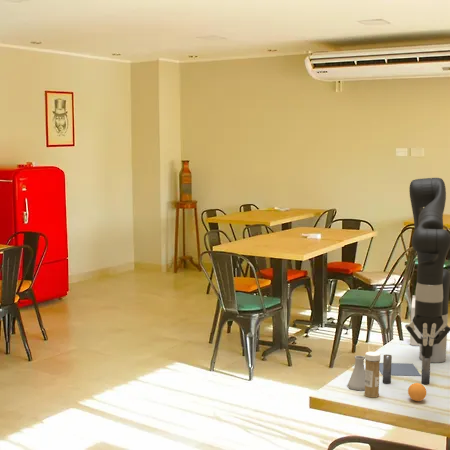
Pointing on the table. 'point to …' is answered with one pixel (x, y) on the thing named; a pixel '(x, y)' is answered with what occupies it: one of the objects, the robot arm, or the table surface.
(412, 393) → the ball
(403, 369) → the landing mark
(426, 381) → the post
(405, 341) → the table surface
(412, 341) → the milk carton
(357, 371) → the flask
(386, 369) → the post
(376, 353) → the sprinkles bottle
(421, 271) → the robot arm
